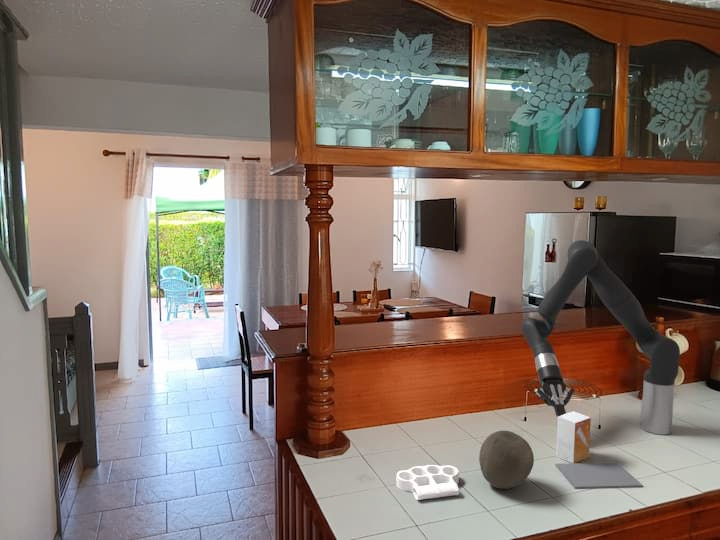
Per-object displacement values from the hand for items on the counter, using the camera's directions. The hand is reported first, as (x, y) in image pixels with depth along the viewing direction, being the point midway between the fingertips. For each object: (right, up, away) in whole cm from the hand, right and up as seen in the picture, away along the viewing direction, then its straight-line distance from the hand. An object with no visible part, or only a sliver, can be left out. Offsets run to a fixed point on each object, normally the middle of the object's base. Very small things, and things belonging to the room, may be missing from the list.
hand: (562, 417), depth 164 cm
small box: (0, -10, -7) cm, 13 cm away
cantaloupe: (-25, -12, -23) cm, 36 cm away
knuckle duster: (-46, -13, -23) cm, 53 cm away
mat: (+3, -11, -19) cm, 22 cm away
